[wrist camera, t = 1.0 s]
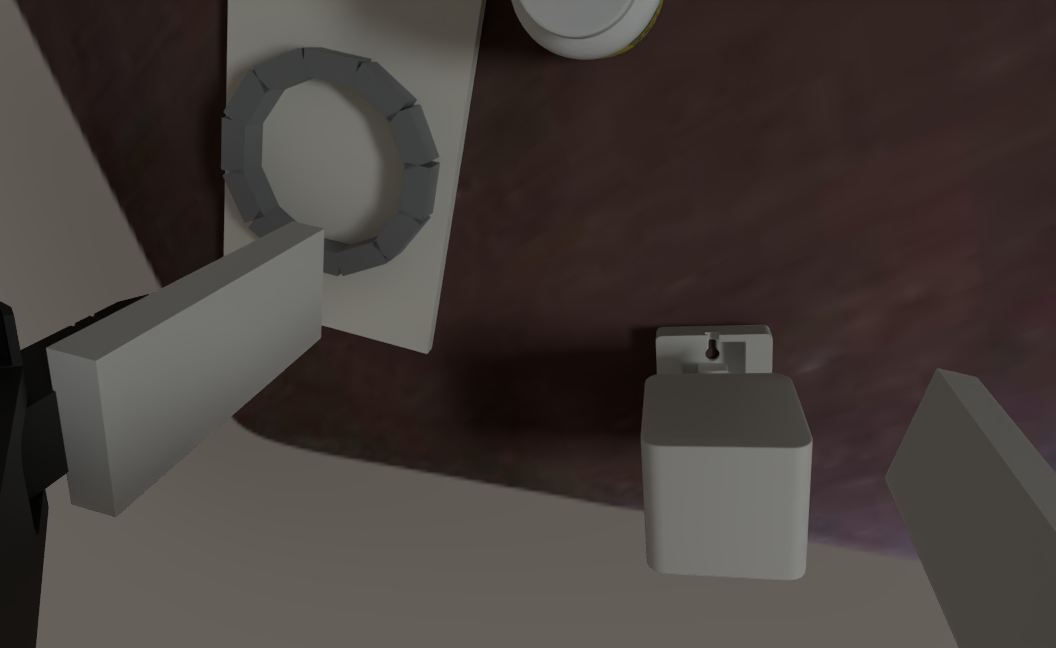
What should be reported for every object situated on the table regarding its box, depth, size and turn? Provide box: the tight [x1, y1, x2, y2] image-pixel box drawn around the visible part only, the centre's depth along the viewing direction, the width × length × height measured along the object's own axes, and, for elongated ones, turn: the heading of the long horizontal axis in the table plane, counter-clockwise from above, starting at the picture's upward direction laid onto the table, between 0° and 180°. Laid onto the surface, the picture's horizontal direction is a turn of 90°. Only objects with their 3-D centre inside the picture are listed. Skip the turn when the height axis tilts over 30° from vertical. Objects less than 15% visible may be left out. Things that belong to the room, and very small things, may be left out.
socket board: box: [221, 0, 486, 354], centre depth 34 cm, size 18×12×2 cm, turn 169°
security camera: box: [641, 325, 812, 580], centre depth 31 cm, size 6×7×10 cm
